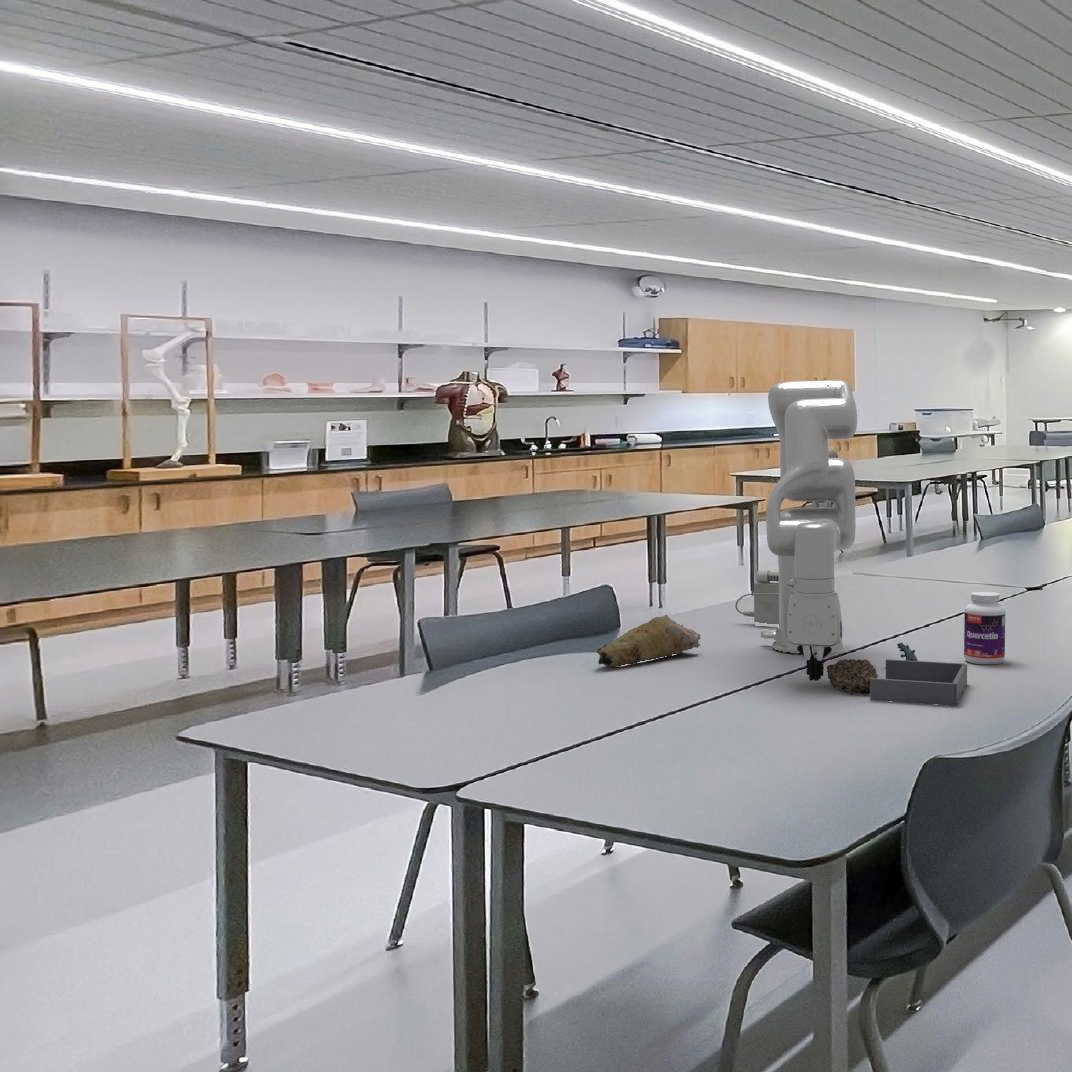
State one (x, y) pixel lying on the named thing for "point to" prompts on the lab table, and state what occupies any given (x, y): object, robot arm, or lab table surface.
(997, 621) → the pill bottle
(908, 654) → the sculpture
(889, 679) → the tray
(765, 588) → the geiger counter
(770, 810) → the lab table surface
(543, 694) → the lab table surface
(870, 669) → the concrete sample
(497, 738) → the lab table surface
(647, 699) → the lab table surface
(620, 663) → the mineral
